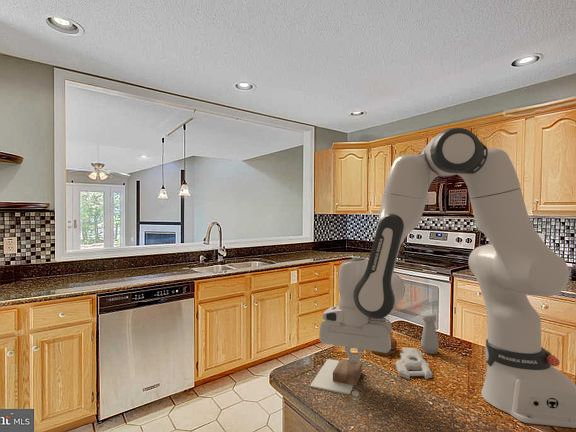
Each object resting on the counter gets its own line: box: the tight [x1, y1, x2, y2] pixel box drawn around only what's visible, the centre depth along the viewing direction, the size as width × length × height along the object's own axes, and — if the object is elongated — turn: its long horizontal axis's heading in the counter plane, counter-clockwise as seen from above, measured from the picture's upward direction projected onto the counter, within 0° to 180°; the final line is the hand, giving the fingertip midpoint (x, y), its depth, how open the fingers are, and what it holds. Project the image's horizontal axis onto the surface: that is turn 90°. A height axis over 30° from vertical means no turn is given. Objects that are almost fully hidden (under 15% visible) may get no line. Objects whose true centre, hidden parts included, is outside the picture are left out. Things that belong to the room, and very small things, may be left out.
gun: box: [394, 346, 433, 381], centre depth 101 cm, size 18×3×10 cm
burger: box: [370, 336, 398, 356], centre depth 114 cm, size 10×9×5 cm
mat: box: [309, 358, 354, 396], centre depth 96 cm, size 11×18×1 cm, turn 157°
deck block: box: [333, 359, 363, 386], centre depth 94 cm, size 2×9×6 cm
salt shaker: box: [420, 312, 440, 355], centre depth 112 cm, size 6×6×13 cm
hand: (354, 362), depth 94 cm, fingers closed
